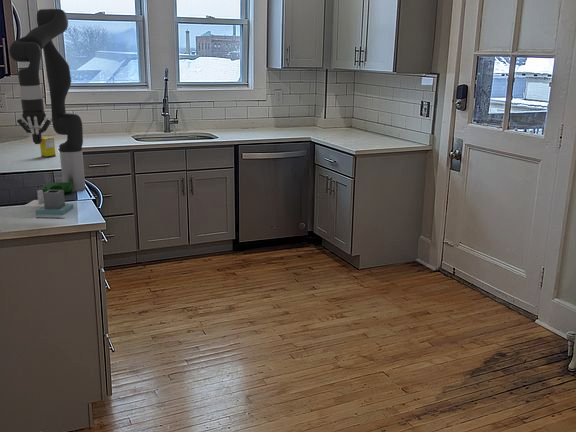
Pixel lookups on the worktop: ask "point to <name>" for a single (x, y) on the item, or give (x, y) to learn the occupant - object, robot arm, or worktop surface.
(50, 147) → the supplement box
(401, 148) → the worktop surface
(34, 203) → the rod stand
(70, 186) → the clamp
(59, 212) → the block
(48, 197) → the metal collar
